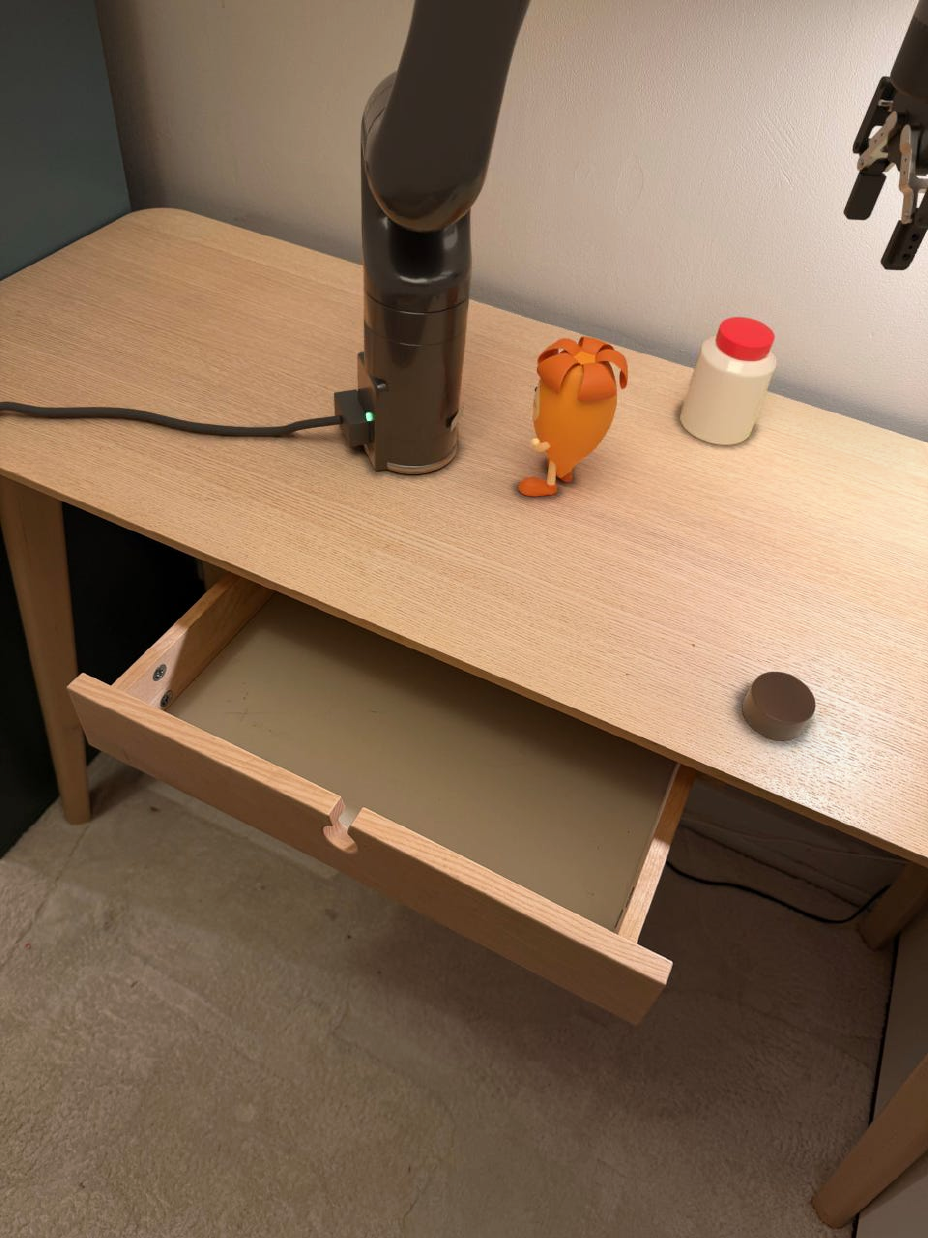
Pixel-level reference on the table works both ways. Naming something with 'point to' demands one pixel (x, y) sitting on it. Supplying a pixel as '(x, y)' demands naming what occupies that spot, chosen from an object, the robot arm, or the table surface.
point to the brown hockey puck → (778, 705)
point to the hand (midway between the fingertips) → (873, 242)
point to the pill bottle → (730, 382)
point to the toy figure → (572, 406)
